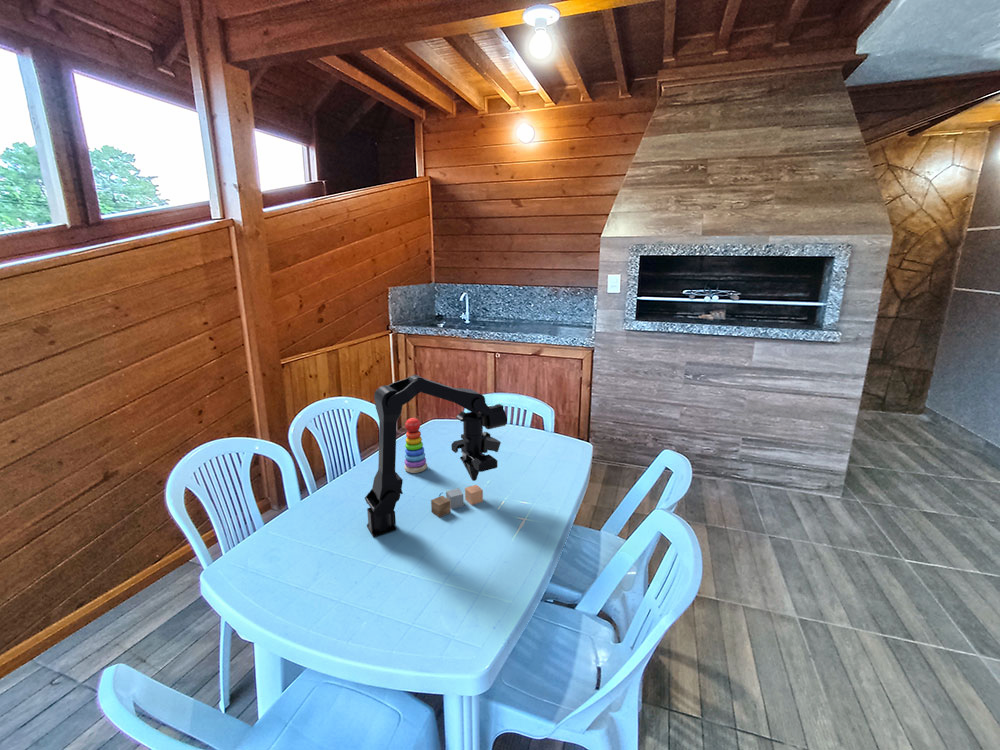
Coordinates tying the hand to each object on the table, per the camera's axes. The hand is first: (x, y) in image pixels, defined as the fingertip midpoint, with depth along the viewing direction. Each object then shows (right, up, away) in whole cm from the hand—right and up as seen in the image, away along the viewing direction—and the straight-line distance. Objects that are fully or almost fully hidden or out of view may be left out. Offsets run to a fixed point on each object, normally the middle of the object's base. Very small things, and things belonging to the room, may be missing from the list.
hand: (474, 480), depth 144 cm
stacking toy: (-22, -1, +23) cm, 32 cm away
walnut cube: (-9, -8, -5) cm, 14 cm away
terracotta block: (0, -7, +2) cm, 7 cm away
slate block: (-6, -7, -1) cm, 9 cm away
